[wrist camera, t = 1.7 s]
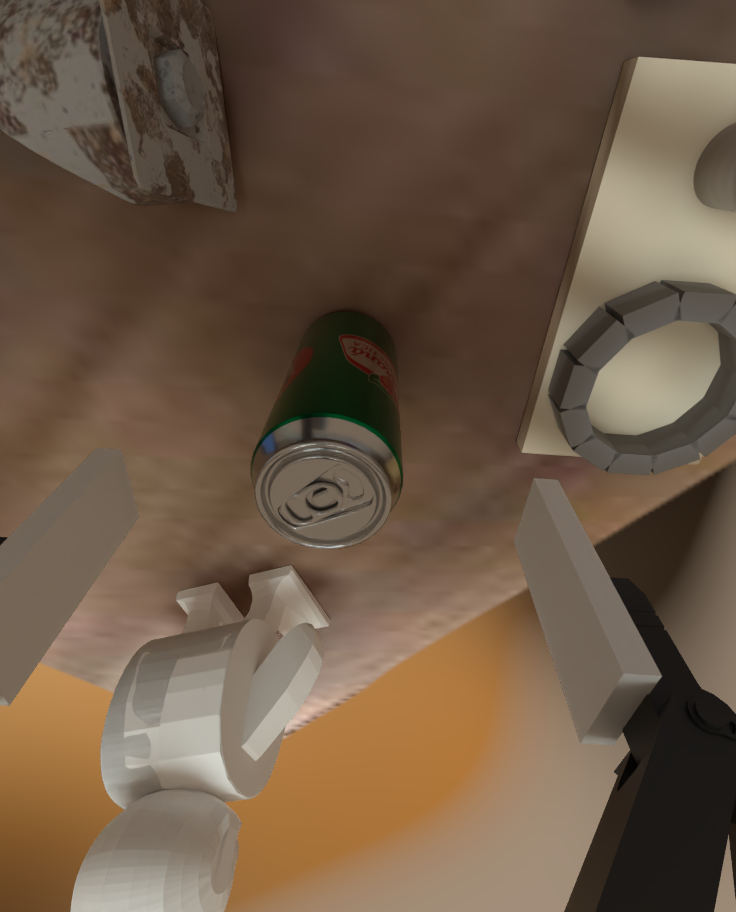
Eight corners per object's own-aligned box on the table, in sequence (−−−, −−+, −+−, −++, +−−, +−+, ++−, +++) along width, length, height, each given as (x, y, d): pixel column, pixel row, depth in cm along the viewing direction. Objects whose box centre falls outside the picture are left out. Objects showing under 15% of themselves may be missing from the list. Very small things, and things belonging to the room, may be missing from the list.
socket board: (623, 61, 18) (723, 26, 12) (884, 81, 18) (1090, 54, 12) (516, 441, 27) (547, 510, 22) (686, 452, 27) (757, 524, 22)
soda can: (413, 371, 25) (433, 522, 15) (335, 414, 26) (305, 576, 16) (363, 288, 22) (345, 401, 12) (281, 340, 24) (207, 478, 14)
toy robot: (199, 646, 39) (63, 1013, 23) (137, 577, 35) (-91, 975, 18) (352, 615, 36) (325, 1010, 20) (306, 536, 32) (221, 963, 15)
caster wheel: (-37, -106, 17) (205, -167, 15) (51, 226, 22) (250, 212, 20) (-307, -308, 11) (37, -449, 9) (-113, 210, 15) (153, 186, 14)
